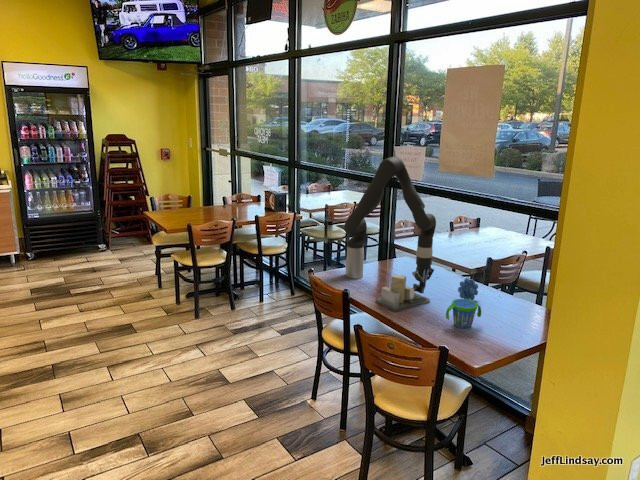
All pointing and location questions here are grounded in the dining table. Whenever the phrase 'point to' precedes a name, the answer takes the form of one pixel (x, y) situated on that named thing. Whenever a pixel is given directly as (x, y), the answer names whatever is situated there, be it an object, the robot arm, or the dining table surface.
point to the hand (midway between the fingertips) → (422, 288)
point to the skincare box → (399, 285)
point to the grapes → (468, 289)
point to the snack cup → (463, 312)
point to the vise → (392, 300)
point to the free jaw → (412, 291)
